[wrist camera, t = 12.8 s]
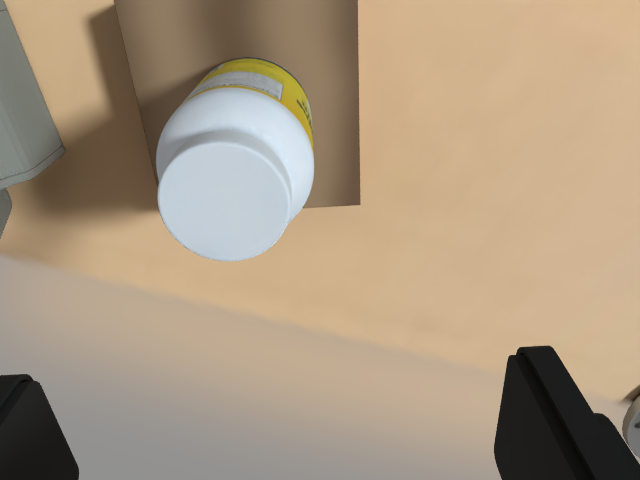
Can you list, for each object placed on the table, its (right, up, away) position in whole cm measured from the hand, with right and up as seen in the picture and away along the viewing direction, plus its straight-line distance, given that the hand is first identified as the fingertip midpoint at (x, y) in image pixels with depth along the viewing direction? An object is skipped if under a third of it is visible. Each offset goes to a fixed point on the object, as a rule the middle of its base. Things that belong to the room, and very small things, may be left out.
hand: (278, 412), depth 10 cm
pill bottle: (-3, +10, +18) cm, 21 cm away
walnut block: (-3, +12, +20) cm, 23 cm away
